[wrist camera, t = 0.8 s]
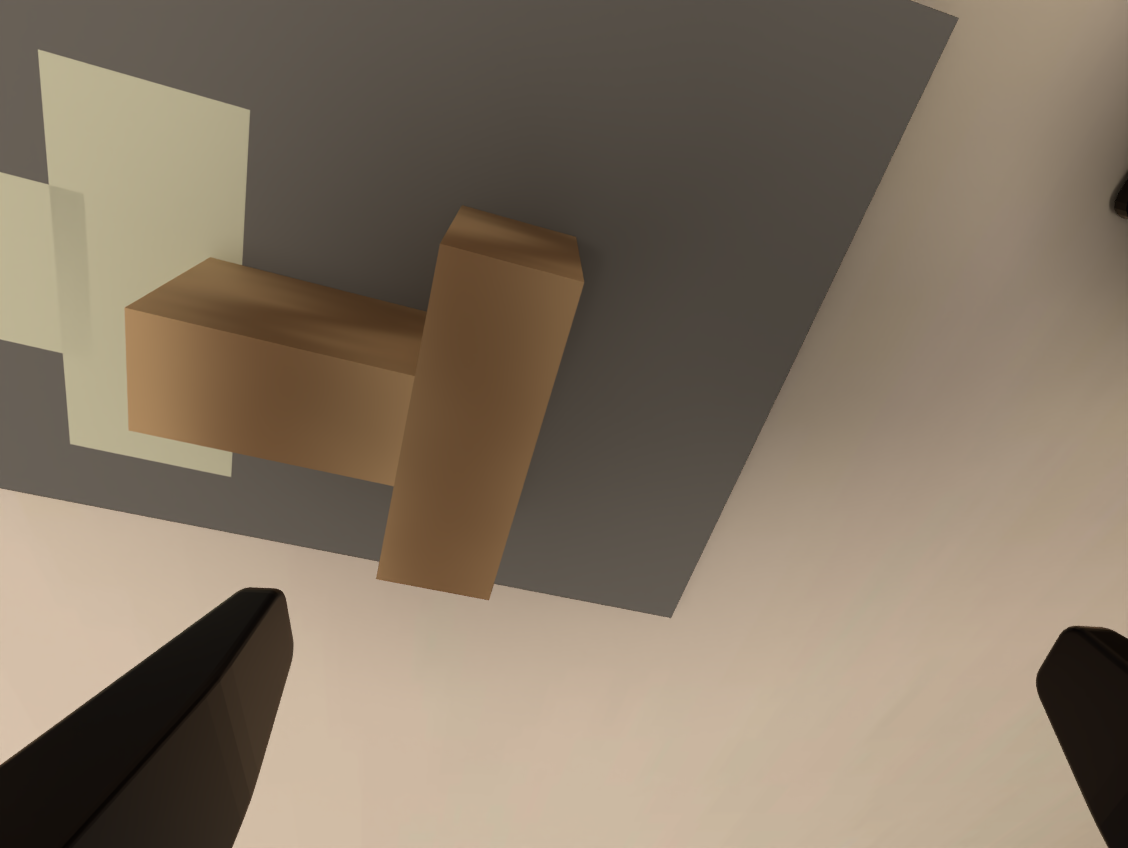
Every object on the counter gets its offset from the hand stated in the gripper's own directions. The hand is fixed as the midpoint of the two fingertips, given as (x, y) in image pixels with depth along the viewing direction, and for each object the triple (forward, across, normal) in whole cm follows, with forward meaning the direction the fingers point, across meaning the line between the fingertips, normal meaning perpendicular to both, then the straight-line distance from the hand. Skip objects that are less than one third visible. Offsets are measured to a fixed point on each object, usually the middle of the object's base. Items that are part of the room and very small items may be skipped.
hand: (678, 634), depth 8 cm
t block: (+12, +6, +2) cm, 13 cm away
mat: (+12, +7, 0) cm, 14 cm away
